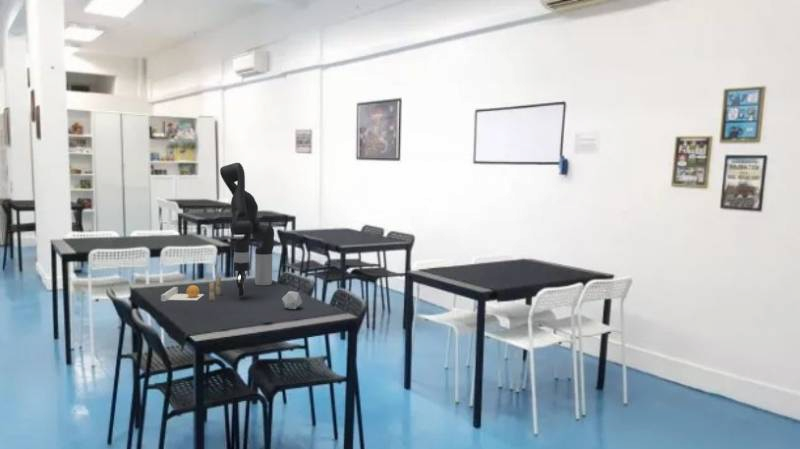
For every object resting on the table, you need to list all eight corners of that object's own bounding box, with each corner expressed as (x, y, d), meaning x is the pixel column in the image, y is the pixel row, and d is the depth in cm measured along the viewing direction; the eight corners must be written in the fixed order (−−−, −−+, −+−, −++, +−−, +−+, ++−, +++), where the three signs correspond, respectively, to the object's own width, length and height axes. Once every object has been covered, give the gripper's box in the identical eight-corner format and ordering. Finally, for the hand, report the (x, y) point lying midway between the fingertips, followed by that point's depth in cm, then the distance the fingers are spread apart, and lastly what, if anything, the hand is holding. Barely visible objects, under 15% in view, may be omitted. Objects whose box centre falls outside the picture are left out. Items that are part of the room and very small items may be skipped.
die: (286, 312, 274) (299, 296, 274) (275, 301, 278) (288, 284, 278) (295, 315, 282) (308, 299, 281) (284, 304, 286) (297, 288, 286)
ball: (203, 289, 301) (194, 298, 301) (194, 281, 300) (185, 290, 300) (200, 292, 295) (191, 301, 295) (191, 284, 294) (182, 292, 294)
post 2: (216, 294, 306) (216, 276, 305) (221, 294, 306) (221, 276, 305) (215, 295, 304) (215, 277, 303) (220, 295, 304) (220, 277, 303)
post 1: (209, 299, 293) (210, 281, 292) (214, 300, 293) (215, 281, 292) (208, 301, 290) (208, 282, 289) (213, 301, 290) (213, 282, 290)
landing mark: (176, 294, 304) (176, 293, 304) (204, 294, 305) (204, 294, 305) (167, 300, 290) (167, 299, 290) (196, 300, 291) (197, 300, 291)
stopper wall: (173, 292, 306) (173, 287, 306) (177, 292, 307) (177, 287, 306) (161, 301, 287) (161, 295, 286) (165, 301, 287) (165, 295, 286)
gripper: (236, 258, 303) (236, 292, 304) (231, 262, 290) (230, 298, 291) (251, 259, 303) (251, 292, 305) (246, 263, 290) (246, 298, 292)
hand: (241, 295), depth 298 cm, fingers closed
